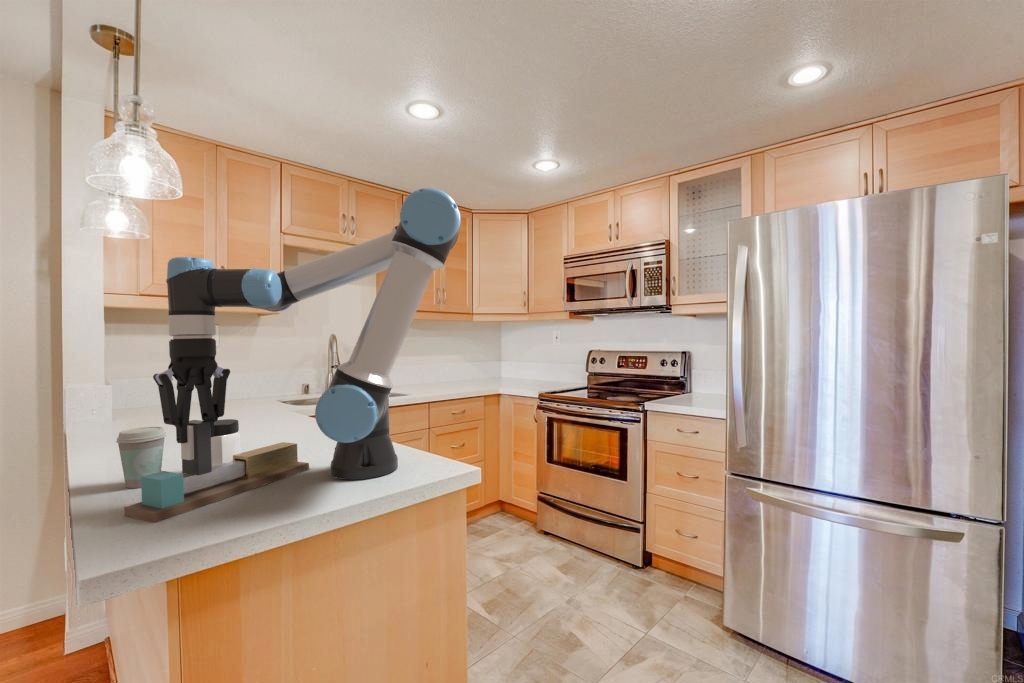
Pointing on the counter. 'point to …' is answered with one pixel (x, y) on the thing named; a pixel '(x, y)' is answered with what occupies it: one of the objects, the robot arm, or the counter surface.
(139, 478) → the coffee cup
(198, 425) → the steel bar
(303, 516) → the counter surface
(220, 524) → the counter surface
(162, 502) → the teal socket
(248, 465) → the brass sleeve
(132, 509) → the walnut board
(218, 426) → the jar
